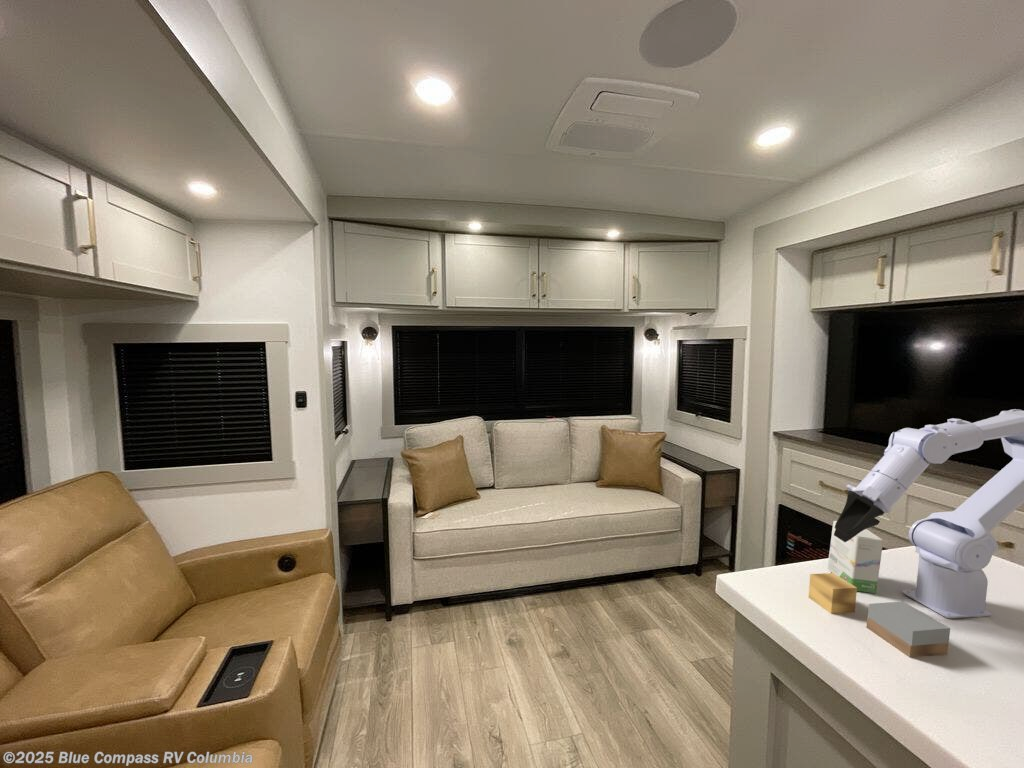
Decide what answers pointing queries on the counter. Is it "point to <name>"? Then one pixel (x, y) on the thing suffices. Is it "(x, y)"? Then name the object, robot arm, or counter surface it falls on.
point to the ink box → (857, 559)
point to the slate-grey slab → (909, 623)
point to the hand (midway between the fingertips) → (839, 535)
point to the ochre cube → (832, 593)
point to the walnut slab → (904, 646)
